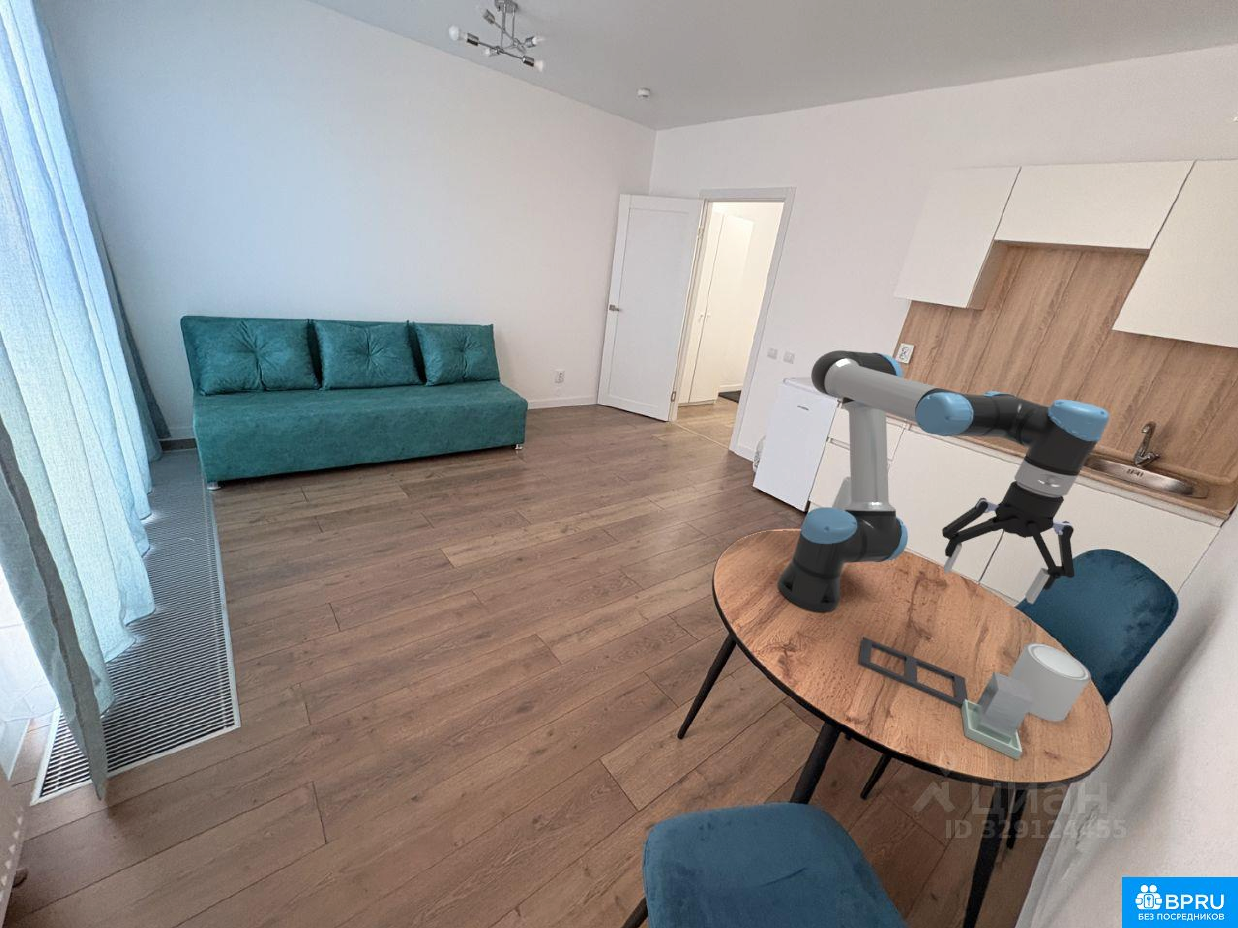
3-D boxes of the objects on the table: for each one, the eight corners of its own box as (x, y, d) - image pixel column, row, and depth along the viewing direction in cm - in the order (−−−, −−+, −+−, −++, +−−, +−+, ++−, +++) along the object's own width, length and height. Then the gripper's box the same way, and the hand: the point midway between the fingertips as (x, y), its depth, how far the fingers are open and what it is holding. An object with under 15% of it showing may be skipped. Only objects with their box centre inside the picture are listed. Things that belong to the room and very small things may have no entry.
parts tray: (964, 736, 87) (969, 728, 87) (961, 706, 94) (964, 698, 93) (1017, 759, 84) (1022, 752, 83) (1009, 727, 90) (1014, 719, 90)
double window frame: (858, 663, 102) (859, 660, 101) (861, 639, 109) (862, 636, 109) (967, 710, 93) (969, 706, 93) (962, 680, 100) (964, 677, 100)
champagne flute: (836, 545, 150) (859, 476, 141) (845, 556, 144) (869, 485, 135) (815, 542, 150) (837, 474, 141) (824, 554, 143) (846, 483, 135)
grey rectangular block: (974, 732, 88) (998, 688, 84) (971, 713, 92) (994, 670, 88) (1006, 746, 86) (1033, 702, 81) (1002, 726, 90) (1027, 683, 86)
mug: (996, 663, 107) (1016, 626, 103) (1052, 683, 103) (1075, 646, 99) (1009, 705, 95) (1032, 666, 91) (1072, 730, 91) (1099, 690, 87)
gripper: (957, 472, 85) (914, 567, 94) (1140, 521, 75) (1072, 624, 83) (955, 460, 91) (914, 551, 100) (1123, 504, 81) (1061, 601, 89)
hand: (986, 584), depth 92 cm, fingers open, 13 cm apart
